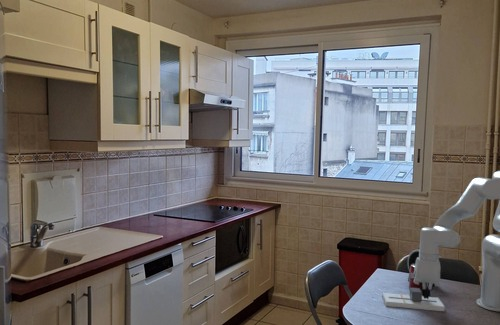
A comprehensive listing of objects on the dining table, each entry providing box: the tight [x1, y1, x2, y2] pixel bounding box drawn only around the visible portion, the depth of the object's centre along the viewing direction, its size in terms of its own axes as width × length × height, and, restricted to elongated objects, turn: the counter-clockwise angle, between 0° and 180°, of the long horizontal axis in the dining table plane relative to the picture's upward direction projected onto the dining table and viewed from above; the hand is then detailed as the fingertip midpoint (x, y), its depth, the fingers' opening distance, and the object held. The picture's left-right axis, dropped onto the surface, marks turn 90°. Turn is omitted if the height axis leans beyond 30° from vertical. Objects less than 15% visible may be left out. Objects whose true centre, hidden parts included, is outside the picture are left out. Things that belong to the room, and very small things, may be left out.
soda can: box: [408, 264, 426, 292], centre depth 199 cm, size 7×7×12 cm
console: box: [381, 292, 446, 312], centre depth 182 cm, size 24×10×2 cm, turn 80°
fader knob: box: [408, 288, 422, 302], centre depth 182 cm, size 4×5×4 cm
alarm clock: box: [406, 246, 442, 289], centre depth 208 cm, size 16×10×18 cm, turn 28°
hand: (425, 297), depth 181 cm, fingers closed
